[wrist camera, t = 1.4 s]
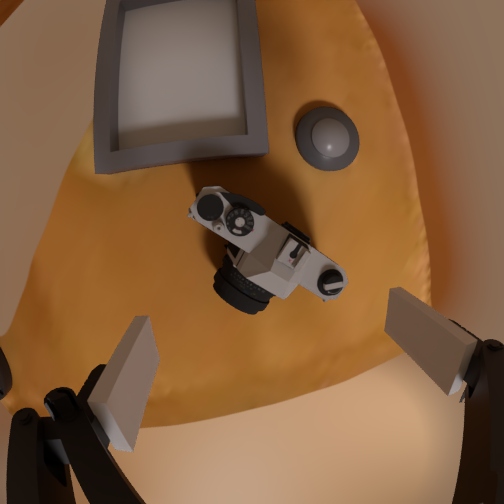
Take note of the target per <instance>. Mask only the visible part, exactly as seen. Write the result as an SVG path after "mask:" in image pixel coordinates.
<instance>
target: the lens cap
mask: <svg viewBox="0 0 504 504" xmlns="http://www.w3.org/2000/svg"><path fill="white" fill-rule="evenodd" d="M295 140H296V145H297V148H298V151H299V153H300V154H301V156H302V157H303V159H304V160H305V161H306V162H307V163H308V164H310V165H311V166H313V167H314V168H317V169H319V170H323V171H336V170H341V169H343V168H345V167H347V166H348V165H350V164H351V163H352V162H353V160H354V159H355V157H356V155H357V153H358V150H359V135H358V131H357V129H356V127H355V125H354V123H353V122H352V120H351V119H350V118H349V117H348V116H347V115H346V114H345V113H343V112H342V111H340V110H338V109H335V108H332V107H319V108H315V109H313V110H311V111H310V112H308V113H307V114H306V115H304V116H303V117H302V119H301V120H300V121H299V123H298V125H297V128H296V133H295Z"/></svg>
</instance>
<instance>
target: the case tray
mask: <svg viewBox="0 0 504 504" xmlns="http://www.w3.org/2000/svg"><path fill="white" fill-rule="evenodd" d="M268 153H269V143H268V130H267V118H266V106H265V94H264V83H263V72H262V61H261V51H260V41H259V32H258V22H257V13H256V5H255V0H106V5H105V10H104V15H103V21H102V27H101V32H100V39H99V47H98V55H97V64H96V76H95V90H94V162H95V174H114V173H119V172H125V171H130V170H137V169H143V168H149V167H156V166H163V165H171V164H179V163H187V162H196V161H206V160H216V159H228V158H242V157H259V156H265V155H266V154H268Z"/></svg>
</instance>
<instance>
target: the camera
mask: <svg viewBox="0 0 504 504" xmlns="http://www.w3.org/2000/svg"><path fill="white" fill-rule="evenodd" d="M196 196H197V198H196V200H195V201H194V203H193V205H192V206H191V209H190V208H189V213H190V214H188V215H187V216H188V218H189V217H192V219H193V220H194V221H195V218H196V220H197V222H199V223H201V224H202V225H204V226H205V227H207V228H209V229H210V230H212V231H214V232H215V233H217V234H218V235H220V236H222V237H223V238H225V239H226V240H228V241H230V242H229V244H228V245H224V246H225V247H226V250H227V253H228V254H227V255H225V257H224V258H223V266H222V267H221V268H219V269H218V271H217V272H216V274H215V275H214V280H215V283H214V284H213V287H214V290H215V291H216V293H217V294H218V295H219V296H220V297H221V298H222V299H223V300H225V301H226V302H227V303H228V304H230V305H231V306H233V307H235V308H236V309H238V310H240V311H242V312H245V313H247V314H253V315H254V314H256V313H257V312H258V311H263V310H264V309H265V308H266V306H267V305H268V304H269V299H270V298H272V297H273V296H278V297H279V298H281V299H286V298H287V297H288V296H289V295H290V293H291V292H292V291H293V290H294V289H295V288H296V286H297V285H298V284H299V285H301V286H303V287H304V288H306V289H308V290H309V291H311V292H313V293H314V294H316V295H317V296H319V297H321V298H322V299H323V301H324V302H327V301H328V299H337V298H338V296H339V295H340V294H341V292H342V291H343V289H344V288H345V286H346V285H347V284H348V280H347V276H346V273H345V270H344V269H343V268H341V267H340V266H339V265H338V264H336V263H335V262H334V261H332V260H331V259H329V258H328V257H326V256H325V255H324V254H322V253H321V252H319V251H318V250H316V249H315V248H313V247H312V246H311V245H309V244H310V243H311V242H309V241H310V239H311V238H310V237H308V236H307V235H305V234H304V233H302V232H301V231H300V230H298V229H297V228H295V227H294V226H292V225H291V224H289V223H288V222H285V223H284V224H283V223H282V224H281V225H280V224H278V223H277V222H275V221H273V220H272V219H270V218H269V217H267V216H266V215H264V214H265V210H264V208H262V207H261V206H260V205H259V204H257V203H255V202H254V201H252V200H250V199H248V198H246V197H243V196H241V195H238V194H233V193H230V192H229V191H227V190H226V189H224V188H223V187H221V186H206V187H203V189H202V190H201V192H200V193H197V195H196ZM191 210H192V212H191ZM193 215H194V216H195V218H194V216H193Z"/></svg>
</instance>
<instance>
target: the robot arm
mask: <svg viewBox="0 0 504 504" xmlns="http://www.w3.org/2000/svg"><path fill="white" fill-rule="evenodd" d="M384 331H385V332H386V333H387V334H388V335H389V336H390V337H391V338H392V339H393V340H394V341H395V342H396V343H397V344H398V345H399V346H400V347H401V348H402V349H403V350H404V351H405V352H406V353H407V354H408V355H409V356H410V357H411V358H412V359H413V360H414V361H415V362H416V363H417V364H418V365H419V366H420V367H421V368H422V369H423V370H424V371H425V373H426V374H428V376H429V377H430V378H431V379H432V380H433V381H434V382H435V383H436V384H437V385H438V386H439V387H440V388H441V389H442V390H443V391H444V392H445V393H446V395H447V396H449V395H451V394H453V393H455V392H457V391H458V390H459V389H460V387H461V384H462V382H463V380H464V381H465V382H466V383H467V386H466V388H465V390H464V392H463V395H462V397H461V399H460V402H462V400H463V399H464V398H465V402H464V403H465V415H464V431H463V442H462V451H461V459H460V466H459V472H458V478H457V483H456V488H455V493H454V497H453V501H452V504H504V345H503V344H502V343H501V342H499V341H497V340H493V339H488V340H485V341H484V342H483V341H482V340H480V339H479V338H478V337H476V336H475V335H473V334H472V333H471V332H469V331H466V329H465V328H464V327H461V325H459V324H458V323H456V322H455V321H453V320H450V319H447V318H446V317H444V316H443V315H441V314H440V313H438V312H437V311H436V310H434V309H433V308H431V307H430V306H428V305H427V304H425V303H424V302H422V301H421V300H419V299H418V298H416V297H415V296H413V295H412V294H410V293H409V292H407V291H406V290H404V289H403V288H401V287H397V288H391V289H390V291H389V300H388V308H387V316H386V323H385V330H384ZM159 361H160V357H159V354H158V350H157V346H156V342H155V338H154V334H153V330H152V326H151V322H150V318H149V316H135V318H134V319H133V321H132V323H131V324H130V326H129V328H128V329H127V331H126V333H125V334H124V336H123V338H122V339H121V341H120V343H119V345H118V346H117V348H116V350H115V351H114V353H113V355H112V357H111V358H110V360H109V362H108V364H107V365H106V364H99V365H98V366H97V367H96V368H95V369H93V370H92V371H91V373H90V375H89V376H88V379H87V380H86V381H85V383H84V385H83V386H82V388H81V390H80V392H79V393H78V395H77V396H76V394H75V393H74V391H73V390H72V389H70V388H68V387H60V388H56V389H54V390H52V391H50V392H49V393H48V394H47V395H46V396H45V398H44V405H45V407H46V408H47V410H48V412H49V413H50V415H51V416H52V417H40V416H39V415H38V413H37V412H36V411H35V409H32V408H23V409H20V410H19V411H17V412H16V413H15V414H14V415H13V418H12V423H11V429H10V437H9V446H8V458H7V481H6V482H7V483H6V487H7V489H6V490H7V504H76V502H75V497H74V492H73V486H72V480H71V475H70V467H69V464H71V467H72V469H73V471H74V473H75V475H76V478H77V480H78V482H79V484H80V486H81V488H82V490H83V492H84V494H85V496H86V498H87V499H88V501H89V503H90V504H146V503H145V502H144V500H143V499H142V498H141V497H140V495H139V494H138V493H137V491H136V490H135V489H134V487H133V486H132V485H131V483H130V482H129V480H128V479H127V477H126V476H125V475H124V473H123V472H122V470H121V469H120V467H119V466H118V464H117V463H116V461H115V459H114V458H113V456H112V455H111V453H110V452H109V450H108V449H107V448H108V446H109V442H111V444H112V445H113V446H114V448H115V449H116V450H121V451H129V452H133V450H134V446H135V443H136V439H137V435H138V431H139V428H140V424H141V421H142V417H143V414H144V410H145V407H146V403H147V400H148V397H149V393H150V390H151V387H152V383H153V380H154V377H155V374H156V371H157V367H158V364H159ZM11 388H12V376H11V372H10V369H9V366H8V363H7V361H6V359H5V357H4V355H3V353H2V351H1V349H0V400H1V399H3V398H4V397H5V396H6V395H7V394H8V392H9V391H10V390H11Z"/></svg>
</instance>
